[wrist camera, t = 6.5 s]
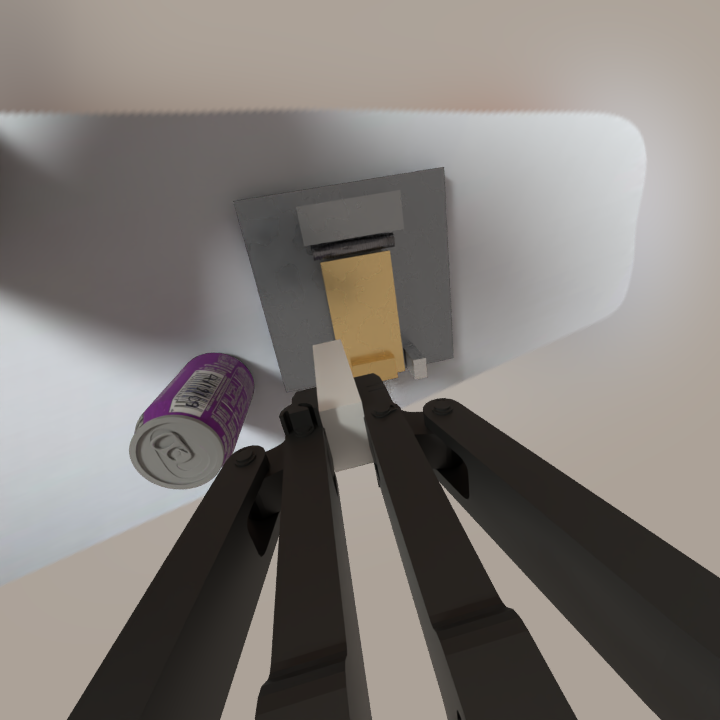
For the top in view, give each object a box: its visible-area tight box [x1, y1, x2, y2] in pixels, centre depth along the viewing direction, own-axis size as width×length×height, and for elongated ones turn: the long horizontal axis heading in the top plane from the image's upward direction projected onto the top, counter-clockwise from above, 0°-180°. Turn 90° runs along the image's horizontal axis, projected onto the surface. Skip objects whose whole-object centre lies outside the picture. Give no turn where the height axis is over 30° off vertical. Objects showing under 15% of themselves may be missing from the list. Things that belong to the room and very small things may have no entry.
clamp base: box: [233, 167, 453, 392], centre depth 30 cm, size 18×18×6 cm
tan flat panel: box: [311, 232, 405, 381], centre depth 30 cm, size 7×13×2 cm, turn 9°
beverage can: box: [129, 353, 254, 489], centre depth 29 cm, size 7×7×12 cm
